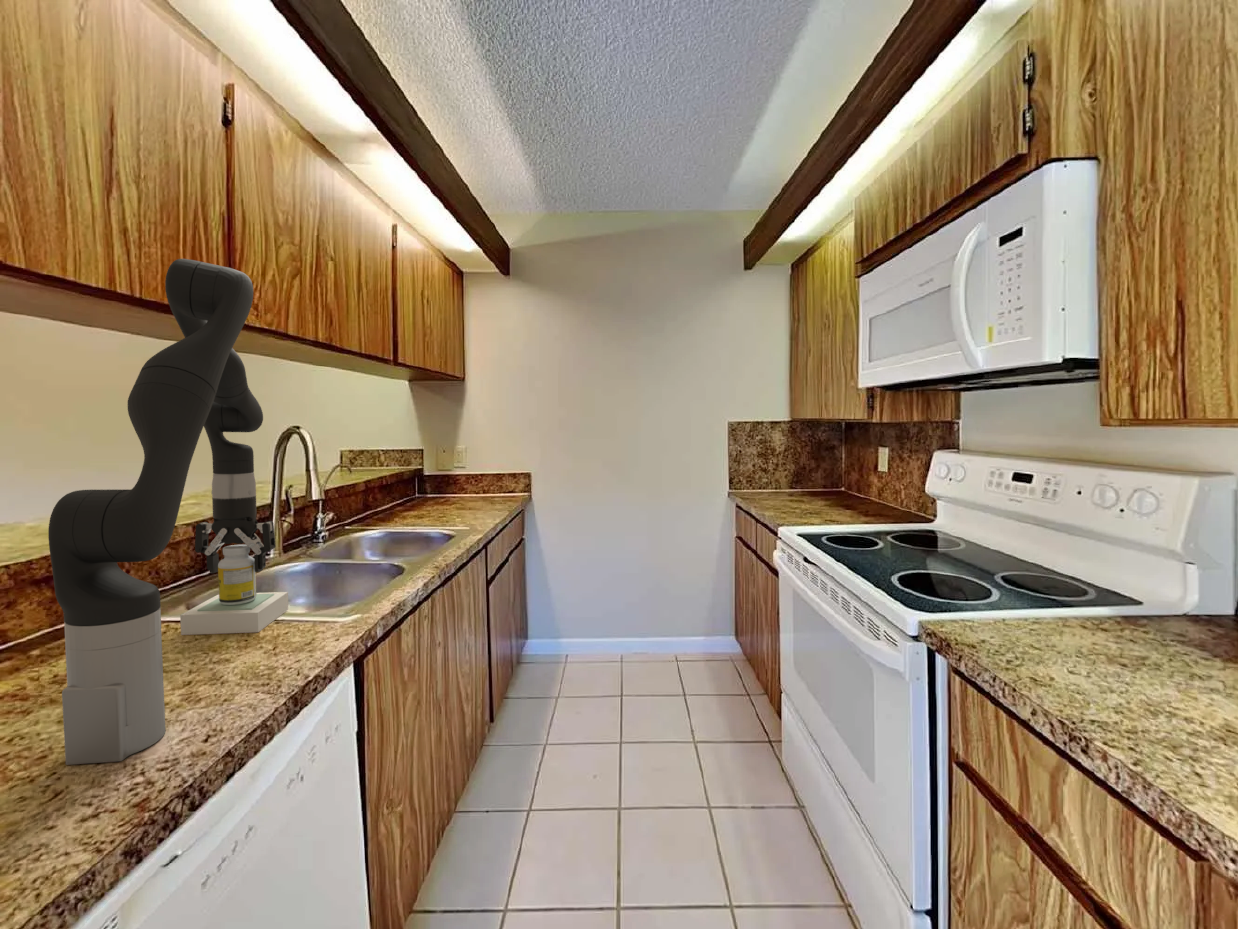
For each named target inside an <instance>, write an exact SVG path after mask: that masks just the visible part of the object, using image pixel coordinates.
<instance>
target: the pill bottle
mask: <svg viewBox="0 0 1238 929" xmlns="http://www.w3.org/2000/svg"><path fill="white" fill-rule="evenodd" d="M250 551H251V548H250V547H248V546H247V545H246V544H234V545H233V544H232V545H231V544H230V545H226V546H224V547H222V555H223V557H224V558H222V559H221V560H219V563H218V572H217V575H218V576H217V577H218V579H217V580H218V594H219V601H220V603H221V604H223V605H239V604H244V603H248V602H250V601H253V600H254V599H255V598H256V593H257V576H256V574H257V572H255V563H254V556H253V557H252V556H251V555H249V554H250V553H251V552H250Z"/></svg>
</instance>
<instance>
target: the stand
mask: <svg viewBox="0 0 1238 929" xmlns="http://www.w3.org/2000/svg"><path fill="white" fill-rule="evenodd" d="M288 610H289V591H276V592H274V591H273V592H272V591H270V592H256V598H255V599H254V600H253V601H250V602H248V603H244V604H239V605H223V604H221V603H220V601H219V593H218V594H217V595H215V596H212V597H210V598H209V599H207V600H205V601H203V602H202V603H200V604H197V605H196V606H194V607H192V608H190V609H189V610H187V611H184V613H183V612H182V614H180V620H179V621H180V635H181V636H191V635H192V636H193V635H217V634H238V633H239V634H242V633H243V634H247V633H259V632H261V631H262V630H264V629H265V628H266V627H267V626H268V625H270V624H271V623H273V622H274V621H275V620H277V619H278V618H279V617H280V616H282V615H283V614H284V613H286V612H287V611H288Z"/></svg>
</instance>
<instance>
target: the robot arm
mask: <svg viewBox="0 0 1238 929" xmlns="http://www.w3.org/2000/svg"><path fill="white" fill-rule="evenodd" d="M164 287H165V288H164V289H165V296H166V299H167V302H168V305H169V308H170V311H171V312H172V315H173V317H174V319H175V320H176V323H177V325H178V327H179V328H180V330H181V332H182V335H183V337H184V338H182V339H180V340H178V341H176V342H174V343H173V344H171V345H169V346H167V347H164V348H163V349H162V350H160V351H159V352H157V353H155V354H154V355H152V356H151V357H150V358H148V359H147V360H146V361H145V363H144V364H143V366H142V368H141V369H140V370H139V374H138V375H137V377H136V380H135V382H134V384H133V387H132V389H131V390H130V393H129V396H128V398H127V413H128V414H127V415H128V416H129V419H130V422H131V424H132V426H133V429H134V431H135V434H136V435H137V438H138V440H139V442H140V444H141V447H142V450H143V454H144V458H143V464H142V467H141V471H140V474H139V477H138V479H137V481H136V483H135V484H134V486H133V487H132V488H131V489H80V490H74V491H71V492H68V493H66V494H65V495H63V496H62V497H61V498H60V499H58V501H57V502H56V504H55V505H54V507H53V508H52V511H51V514H50V518H49V523H48V532H47V533H48V536H47V537H48V546H49V547H48V548H49V549H48V550H49V556H50V561H51V562H50V563H51V570H52V577H53V585H54V586H53V588H54V594H55V598H56V601H57V603H58V604H59V606H60V608H61V609H62V612H63V622H64V623H63V625H64V645H65V646H64V647H65V666H66V667H65V668H66V684H67V685H66V687H64V689H62V692H61V701H62V718H63V722H62V723H63V734H64V735H63V736H64V737H63V738H64V757H65V758H64V759H65V765H66V766H67V765H68V766H69V765H80V764H81V765H82V764H97V763H111V762H114V763H115V762H122V761H123V760H125V759H126V758H128V757H129V756H131V755H134V754H136V753H138V752H140V751H143V750H145V749H148V748H149V747H150V746H151V747H152V745H154V744H155V743H157V742H158V741H159V740H161V739H162V738H163V736H164V735H165V734H166V712H165V711H166V710H165V709H166V708H165V689H164V688H165V687H164V686H165V684H164V668H163V667H164V663H163V644H162V643H163V642H162V641H163V637H162V611H161V609H162V608H161V591H160V590H159V588H158V586H157V585H156V584H153V583H151V582H147V581H144V580H141V579H138V578H136V577H135V576H132V575H130V574H128V573H127V572H126V571H124V570H122V569H121V567H120V566H119V565H118V563H138V562H141V563H142V562H146V561H152V560H153V559H156V558H157V557H158V556H159V555H161V554H162V553H163V552H164V550H165V548H166V547H167V546H168V545H169V542H170V540H171V538H172V536H173V534H174V530H175V526H176V523H177V519H178V515H179V511H180V507H181V503H182V498H183V494H184V490H185V486H186V482H187V477H188V475H189V474H188V473H189V469H190V466H191V462H192V459H193V457H194V454H195V451H196V447H197V445H198V442H199V439H200V437H201V433H202V431H203V429H204V430H205V432H206V436H207V438H208V441H209V445H210V448H211V455H212V482H211V499H212V501H211V502H212V503H211V504H212V518H213V522H212V523H211V522H209V523H208V522H207V521H204V522H200V523H197V524H196V525H195V537H194V539H195V540H194V541H195V542H194V543H195V544H194V551H195V553H197V554H198V553H199V554H200V553H201V554H203V555H205V557H206V569H207V571H209V573H210V574H215V573H218V563H219V562H220V559H219V558H220V557H219V556H220V555H219V553H218V551H219V550H220V549H221V547H222V546H223V545H224V544H225V545H231V544H235V545H243V544H244V545H247V546H248V547H250V550H252V551H253V553H254V556H253V558H254V563H255V572H256V573H261V572H262V571H264V569H265V568H266V564H267V560H266V554H267V552H270V551H272V550H274V549H276V537H275V525H274V522H273V521H272V520H270V521H266V522H258V520H257V514H258V512H257V484H256V478H255V466H254V465H255V464H254V461H255V460H254V459H255V458H254V456H255V455H254V450H253V447H252V446H250V445H249V444H245V443H239V442H233V441H230V440H228V439H227V438H226V436H225V435H224V433H252V432H255V431H258V429H259V428H260V427H261V426H262V425H263V421H264V413H263V409H262V407H261V404H260V403H259V401H258V400H257V398H256V397H255V396H254V394H253V393H252V391H251V390H250V388H249V385H248V380H247V379H248V378H247V373H246V372H247V371H246V368H245V365H244V363H243V360H242V359H241V357H240V356H239V354H238V353H237V352H236V351H235V349H234V348H233V347H234V345H235V343H236V342H237V339H238V337H239V336H240V333H241V331H242V329H243V327H244V326H245V323H246V321H247V319H248V317H249V314H250V311H251V308H252V304H253V300H254V285H253V282H252V279H251V278H250V277H249V275H248V274H246V273H245V272H243V271H241V270H237V269H234V268H232V267H227V266H223V265H218V264H213V263H209V262H204V261H199V260H196V259H195V260H194V259H188V258H178V259H175V260H173V261H172V262H171V264H170V265H169V267H168V269H167V271H166V275H165V281H164ZM258 530H259V532H260V533H261V534H262V539H261V538H260V537H259V536H258V535H257V534H256V532H257V531H258ZM211 532H213V533H214V534H215V537H214V539H213V540H212V541H211V542H210V544H209V534H210V533H211ZM261 540H263V541H261Z"/></svg>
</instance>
